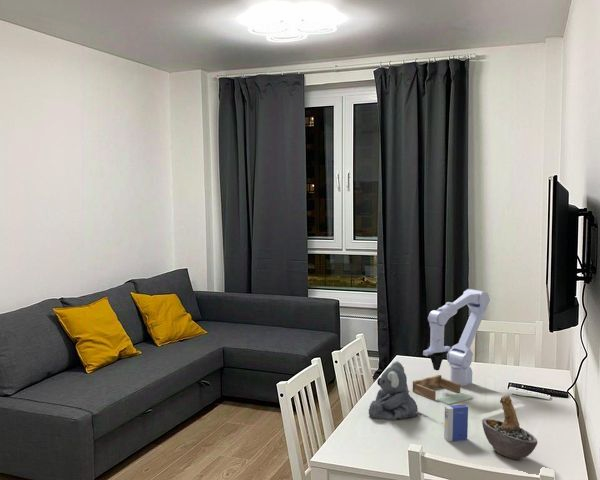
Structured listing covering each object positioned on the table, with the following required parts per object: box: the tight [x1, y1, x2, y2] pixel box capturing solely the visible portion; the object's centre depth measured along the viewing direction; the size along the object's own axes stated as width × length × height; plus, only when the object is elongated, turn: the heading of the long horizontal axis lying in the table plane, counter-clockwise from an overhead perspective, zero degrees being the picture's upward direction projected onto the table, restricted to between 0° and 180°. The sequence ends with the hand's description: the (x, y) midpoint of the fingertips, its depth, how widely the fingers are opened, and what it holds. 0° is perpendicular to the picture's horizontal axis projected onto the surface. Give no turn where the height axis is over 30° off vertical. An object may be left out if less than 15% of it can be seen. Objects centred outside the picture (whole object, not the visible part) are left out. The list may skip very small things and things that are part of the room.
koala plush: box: [368, 360, 419, 421], centre depth 231 cm, size 17×18×20 cm
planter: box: [481, 394, 539, 461], centre depth 195 cm, size 15×17×20 cm
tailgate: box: [436, 392, 473, 406], centre depth 244 cm, size 14×1×7 cm
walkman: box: [443, 403, 469, 442], centre depth 208 cm, size 8×3×12 cm, turn 105°
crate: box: [412, 374, 462, 401], centre depth 252 cm, size 16×12×6 cm
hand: (436, 369), depth 255 cm, fingers closed
